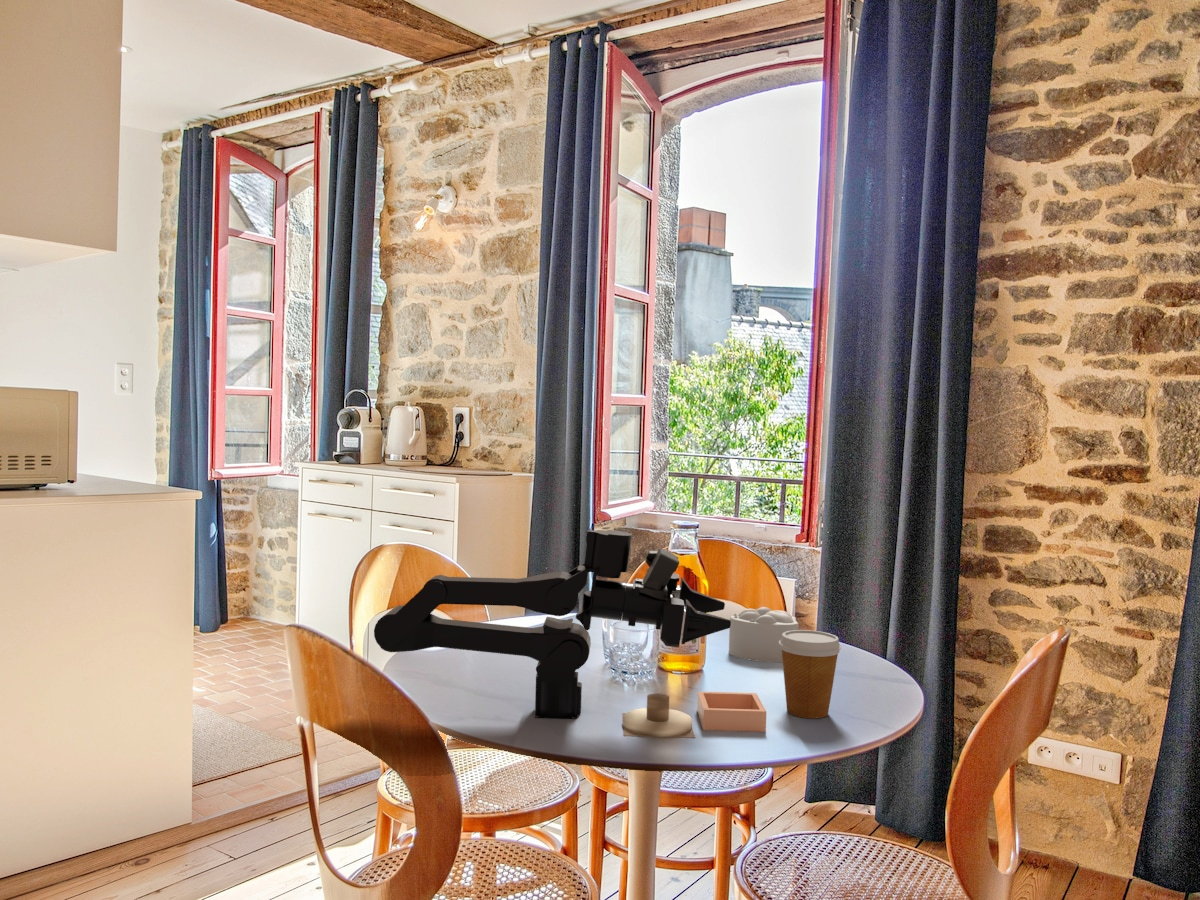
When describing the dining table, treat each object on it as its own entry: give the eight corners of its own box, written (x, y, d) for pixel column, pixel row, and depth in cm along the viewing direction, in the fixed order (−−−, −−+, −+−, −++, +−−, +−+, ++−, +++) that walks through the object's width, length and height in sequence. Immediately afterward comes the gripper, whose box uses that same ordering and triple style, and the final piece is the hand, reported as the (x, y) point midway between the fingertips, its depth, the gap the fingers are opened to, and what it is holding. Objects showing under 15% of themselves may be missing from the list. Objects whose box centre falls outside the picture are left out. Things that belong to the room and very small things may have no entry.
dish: (703, 733, 133) (703, 709, 133) (696, 714, 142) (697, 691, 142) (765, 735, 133) (766, 711, 133) (755, 715, 142) (756, 693, 142)
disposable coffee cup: (794, 699, 151) (796, 626, 151) (849, 712, 145) (851, 636, 145) (765, 712, 144) (767, 635, 143) (821, 726, 138) (824, 646, 137)
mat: (623, 739, 130) (623, 735, 130) (622, 717, 140) (622, 713, 140) (695, 741, 130) (695, 737, 130) (688, 719, 140) (688, 715, 140)
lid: (623, 735, 130) (624, 706, 130) (622, 713, 140) (623, 685, 140) (695, 737, 130) (696, 708, 129) (688, 715, 140) (689, 687, 139)
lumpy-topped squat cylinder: (799, 663, 175) (800, 618, 174) (729, 659, 176) (730, 614, 176) (793, 650, 185) (795, 607, 185) (728, 646, 186) (729, 604, 186)
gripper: (630, 564, 129) (742, 578, 128) (631, 536, 147) (728, 548, 147) (620, 641, 130) (731, 655, 130) (622, 603, 149) (719, 616, 148)
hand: (727, 614), depth 139 cm, fingers open, 9 cm apart
